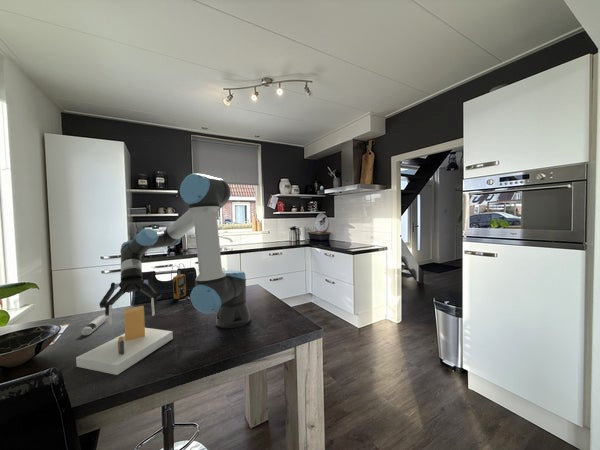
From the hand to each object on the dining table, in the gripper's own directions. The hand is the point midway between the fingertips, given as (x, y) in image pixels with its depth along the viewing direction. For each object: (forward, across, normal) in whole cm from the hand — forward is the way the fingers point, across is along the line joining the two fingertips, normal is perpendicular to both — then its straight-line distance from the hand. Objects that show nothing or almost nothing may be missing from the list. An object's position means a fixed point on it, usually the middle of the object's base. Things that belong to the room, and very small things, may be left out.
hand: (132, 318), depth 92 cm
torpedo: (-11, +14, -25) cm, 30 cm away
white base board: (+12, +1, -1) cm, 12 cm away
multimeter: (-24, -25, -38) cm, 51 cm away
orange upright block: (+6, -1, -3) cm, 6 cm away
